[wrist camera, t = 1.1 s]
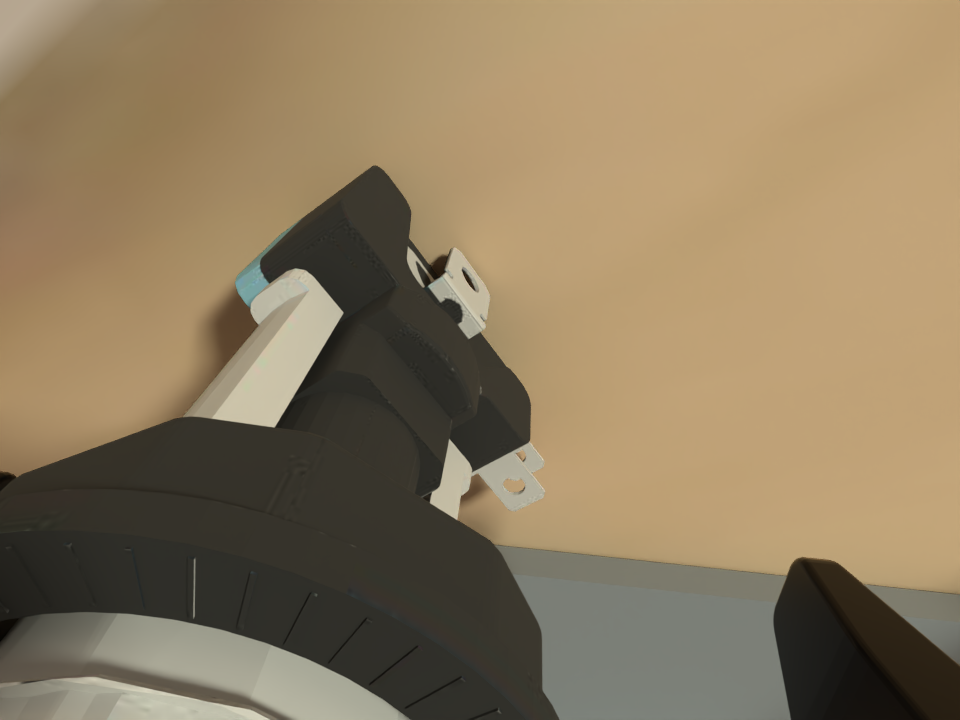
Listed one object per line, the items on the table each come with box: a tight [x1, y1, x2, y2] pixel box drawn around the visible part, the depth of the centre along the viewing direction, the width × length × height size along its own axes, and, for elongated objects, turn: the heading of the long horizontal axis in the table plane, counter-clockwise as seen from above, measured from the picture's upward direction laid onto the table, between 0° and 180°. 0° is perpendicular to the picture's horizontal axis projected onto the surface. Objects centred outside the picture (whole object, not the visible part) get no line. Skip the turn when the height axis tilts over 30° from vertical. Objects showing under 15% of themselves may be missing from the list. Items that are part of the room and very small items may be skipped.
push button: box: [0, 166, 560, 720], centre depth 9 cm, size 7×5×10 cm
